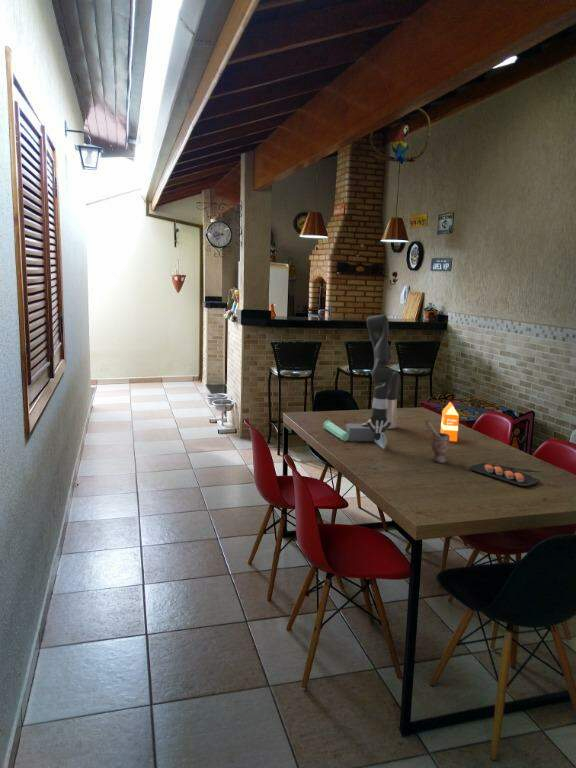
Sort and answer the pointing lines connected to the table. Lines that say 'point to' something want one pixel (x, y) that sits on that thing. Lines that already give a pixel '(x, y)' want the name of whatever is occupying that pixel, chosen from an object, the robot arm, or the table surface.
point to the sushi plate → (506, 474)
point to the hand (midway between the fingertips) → (377, 439)
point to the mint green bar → (336, 430)
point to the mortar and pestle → (438, 443)
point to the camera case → (360, 432)
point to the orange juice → (450, 422)
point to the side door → (381, 441)
